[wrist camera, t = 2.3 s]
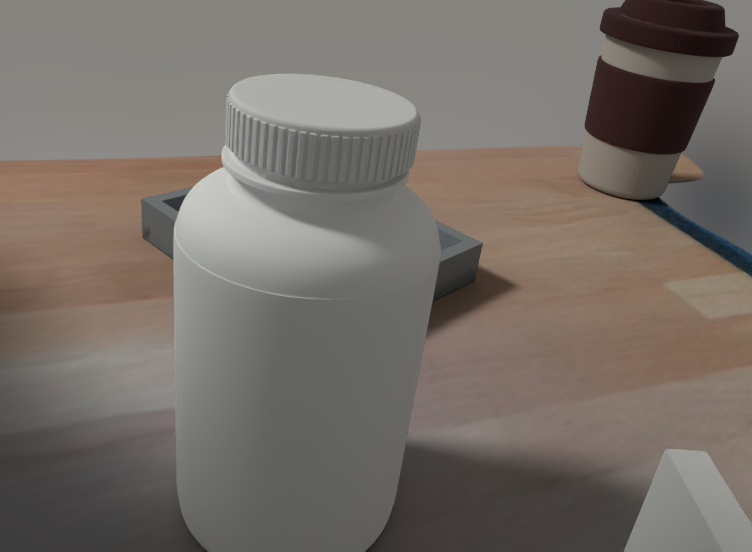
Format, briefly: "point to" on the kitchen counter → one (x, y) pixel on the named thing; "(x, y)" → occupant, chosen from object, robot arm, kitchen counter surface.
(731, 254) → the kitchen counter surface
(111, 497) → the kitchen counter surface
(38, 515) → the kitchen counter surface
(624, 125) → the coffee cup
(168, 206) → the tray
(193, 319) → the pill bottle
